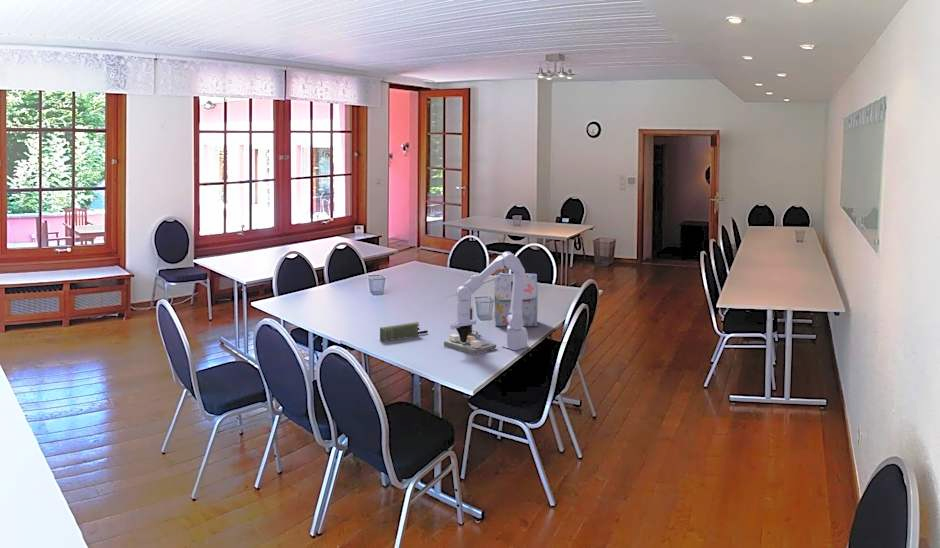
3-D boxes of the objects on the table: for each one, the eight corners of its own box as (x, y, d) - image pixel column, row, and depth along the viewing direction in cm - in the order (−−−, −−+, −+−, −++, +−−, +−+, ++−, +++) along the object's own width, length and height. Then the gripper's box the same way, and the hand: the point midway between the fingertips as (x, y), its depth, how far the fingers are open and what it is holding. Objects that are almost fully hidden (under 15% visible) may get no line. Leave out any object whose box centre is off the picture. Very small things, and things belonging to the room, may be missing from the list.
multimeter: (480, 340, 358) (481, 299, 354) (460, 338, 360) (460, 297, 357) (488, 332, 372) (489, 292, 368) (469, 330, 374) (469, 291, 370)
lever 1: (454, 339, 351) (454, 334, 350) (459, 340, 348) (459, 335, 348) (449, 340, 349) (449, 335, 348) (454, 342, 346) (454, 336, 346)
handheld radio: (379, 340, 357) (425, 333, 370) (382, 342, 354) (428, 335, 367) (379, 327, 355) (425, 320, 368) (382, 328, 353) (429, 321, 366)
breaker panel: (465, 340, 358) (465, 335, 357) (496, 348, 344) (496, 344, 343) (443, 345, 348) (443, 341, 348) (474, 355, 334) (474, 350, 334)
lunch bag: (493, 328, 379) (493, 276, 374) (493, 319, 396) (494, 270, 391) (537, 329, 379) (539, 277, 374) (536, 320, 395) (537, 270, 390)
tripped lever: (469, 341, 348) (469, 335, 347) (474, 342, 345) (475, 336, 345) (464, 342, 346) (464, 336, 345) (470, 343, 343) (470, 337, 343)
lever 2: (475, 345, 341) (475, 340, 340) (481, 347, 338) (481, 341, 338) (470, 346, 339) (470, 341, 338) (476, 348, 336) (476, 343, 336)
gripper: (468, 308, 348) (468, 337, 350) (445, 313, 338) (445, 343, 340) (479, 311, 343) (479, 340, 345) (456, 316, 333) (456, 346, 335)
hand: (463, 341), depth 342 cm, fingers closed
